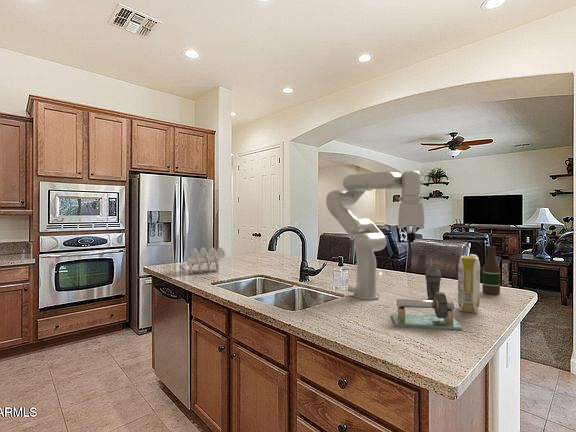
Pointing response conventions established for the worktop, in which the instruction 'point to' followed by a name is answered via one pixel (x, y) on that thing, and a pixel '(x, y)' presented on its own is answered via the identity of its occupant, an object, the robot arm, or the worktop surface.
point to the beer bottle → (491, 273)
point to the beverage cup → (432, 281)
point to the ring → (441, 305)
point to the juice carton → (469, 283)
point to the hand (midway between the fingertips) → (410, 242)
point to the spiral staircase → (206, 258)
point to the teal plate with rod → (424, 320)
